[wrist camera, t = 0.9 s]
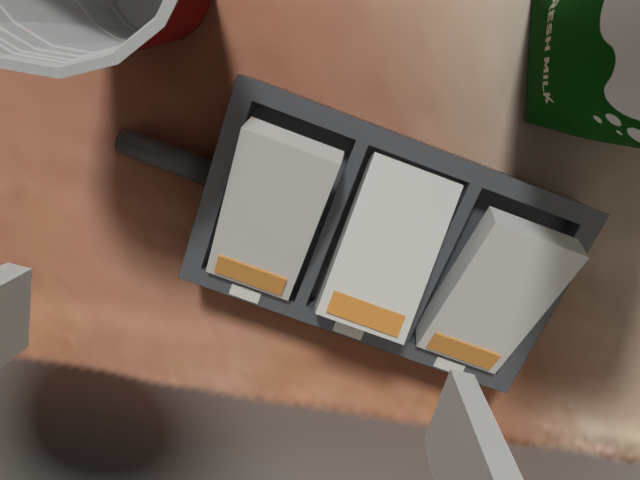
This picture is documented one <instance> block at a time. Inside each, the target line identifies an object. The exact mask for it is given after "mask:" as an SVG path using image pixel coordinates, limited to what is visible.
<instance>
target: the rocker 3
mask: <svg viewBox="0 0 640 480" xmlns="http://www.w3.org/2000/svg"><path fill="white" fill-rule="evenodd" d="M589 258H590V257H589V256H588V254H587V253H586V251H585V250H584V248H583V247H582V245H581V243H580V242H579V240H578V239H576V238H574V237H571V236H568V235H566V234H563V233H560V232H558V231H555V230H552V229H550V228H547V227H544V226H542V225H539V224H536V223H534V222H531V221H528V220H526V219H523V218H520V217H518V216H515V215H512V214H510V213H507V212H504V211H502V210H499V209H497V208H494V207H491V206H489V208H488V209H487V211H486V212H485V214H484V216H483V217H482V219H481V220H480V222H479V224H478V225H477V227H476V229H475V230H474V232H473V233H472V235H471V237H470V238H469V240H468V242H467V243H466V245H465V246H464V248H463V250H462V251H461V253H460V254H459V256H458V258H457V259H456V261H455V263H454V264H453V266H452V267H451V269H450V271H449V272H448V274H447V275H446V277H445V279H444V280H443V282H442V284H441V285H440V287H439V288H438V290H437V292H436V293H435V295H434V297H433V298H432V300H431V301H430V303H429V305H428V306H427V308H426V309H425V311H424V313H423V314H422V316H421V318H420V319H419V321H418V323H417V325H416V327H415V328H416V346H417V347H420V348H422V349H425V350H428V351H431V352H434V353H436V354H439V355H442V356H445V357H448V358H451V359H453V360H456V361H459V362H462V363H465V364H467V365H470V366H473V367H476V368H479V369H482V370H484V371H487V372H490V373H493V374H495V373H496V372H497V371H498V370H499V368H500V367H501V366H502V365H503V363H504V362H505V361H506V360H507V359H508V357H509V356H510V355H511V354H512V352H513V351H514V350H515V349H516V348H517V346H518V345H519V344H520V343H521V341H522V340H523V339H524V338H525V337H526V335H527V334H528V333H529V332H530V330H531V329H532V328H533V327H534V325H535V324H536V323H537V322H538V321H539V319H540V318H541V317H542V316H543V314H544V313H545V312H546V311H547V310H548V308H549V307H550V306H551V305H552V303H553V302H554V301H555V300H556V299H557V297H558V296H559V295H560V294H561V292H562V291H563V290H564V289H565V288H566V286H567V285H568V284H569V283H570V281H571V280H572V279H573V278H574V277H575V275H576V274H577V273H578V272H579V270H580V269H581V268H582V267H583V266H584V264H585V263H586V262H587V261H588V259H589Z"/></svg>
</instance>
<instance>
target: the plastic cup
mask: <svg viewBox="0 0 640 480" xmlns="http://www.w3.org/2000/svg"><path fill="white" fill-rule="evenodd" d="M209 4H210V0H0V69H6V70H12V71H17V72H23V73H29V74H35V75H40V76H46V77H52V78H57V79H61V78H65V77H69V76H73V75H77V74H82V73H86V72H90V71H94V70H98V69H102V68H106V67H110V66H114V65H118V64H119V63H121V62H122V61H123V60H125V59H126V58H127V57H128V56H130V55H131V54H132V53H133V52H134V51H136V50H139V49H145V48H149V47H153V46H157V45H160V44H165V43H169V42H172V41H176V40H180V39H184V38H185V37H186V36H187V35H188V34H189V33H191V32H192V31H193V30H194V29H195V28H197V27H198V26H199V25H200V23H201V21H202V19H203V17H204V15H205V13H206V11H207V9H208V7H209Z"/></svg>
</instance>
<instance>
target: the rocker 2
mask: <svg viewBox="0 0 640 480" xmlns="http://www.w3.org/2000/svg"><path fill="white" fill-rule="evenodd" d="M463 186H464V185H462V184H459V183H456V182H454V181H451V180H448V179H446V178H443V177H440V176H438V175H435V174H432V173H430V172H427V171H424V170H422V169H419V168H416V167H414V166H411V165H409V164H406V163H403V162H401V161H398V160H395V159H393V158H390V157H387V156H385V155H382V154H379V153H377V152H374V153H373V154H372V155H371V156H370V157H369V160H368V163H367V165H366V168H365V171H364V174H363V176H362V179H361V182H360V185H359V187H358V190H357V193H356V195H355V198H354V201H353V204H352V206H351V209H350V212H349V214H348V217H347V220H346V223H345V225H344V228H343V231H342V234H341V236H340V239H339V242H338V244H337V247H336V250H335V253H334V255H333V258H332V261H331V263H330V266H329V269H328V272H327V274H326V277H325V280H324V283H323V285H322V288H321V291H320V293H319V296H318V299H317V302H316V304H315V314H317V315H320V316H323V317H326V318H329V319H331V320H334V321H337V322H340V323H343V324H346V325H348V326H351V327H354V328H357V329H360V330H362V331H365V332H368V333H371V334H374V335H377V336H379V337H382V338H385V339H388V340H391V341H393V342H396V343H399V344H402V345H404V343H405V341H406V338H407V335H408V333H409V330H410V327H411V325H412V322H413V319H414V317H415V314H416V311H417V309H418V306H419V303H420V301H421V298H422V295H423V293H424V290H425V287H426V285H427V282H428V279H429V277H430V274H431V271H432V269H433V266H434V263H435V261H436V258H437V255H438V253H439V250H440V247H441V245H442V242H443V239H444V237H445V234H446V231H447V229H448V226H449V224H450V221H451V218H452V216H453V213H454V210H455V208H456V205H457V202H458V200H459V197H460V194H461V192H462V189H463Z"/></svg>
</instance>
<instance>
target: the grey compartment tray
mask: <svg viewBox="0 0 640 480" xmlns="http://www.w3.org/2000/svg"><path fill="white" fill-rule="evenodd" d="M251 116H252V117H254V118H257V119H260V120H262V121H265V122H267V123H270V124H273V125H275V126H278V127H281V128H283V129H286V130H289V131H291V132H294V133H297V134H299V135H302V136H305V137H307V138H310V139H313V140H315V141H318V142H321V143H323V144H326V145H329V146H331V147H334V148H337V149H339V150H342V151H345V152H344V155H343V159H342V163H341V166H340V169H339V171H338V174H337V176H336V179H335V181H334V184H333V187H332V189H331V192H330V194H329V197H328V199H327V202H326V205H325V207H324V210H323V212H322V215H321V217H320V220H319V223H318V225H317V228H316V230H315V233H314V235H313V238H312V241H311V243H310V246H309V248H308V251H307V253H306V256H305V259H304V261H303V264H302V266H301V269H300V271H299V274H298V277H297V279H296V282H295V284H294V287H293V289H292V292H291V295H290V297H289V300H288V301H287V300H284V299H281V298H279V297H276V296H273V295H270V294H267V293H265V292H262V291H259V290H256V289H253V288H250V287H248V286H245V285H242V284H239V283H236V282H234V281H231V280H228V279H225V278H222V277H219V276H217V275H214V274H211V273H208V272H206V268H207V264H208V260H209V256H210V252H211V248H212V244H213V240H214V236H215V232H216V228H217V224H218V219H219V215H220V211H221V207H222V203H223V199H224V195H225V191H226V187H227V183H228V179H229V175H230V171H231V167H232V163H233V158H234V154H235V150H236V146H237V142H238V138H239V134H240V130H241V127H242V126H243V125H244V124H245V123H246V122H247V121H248V119H249V118H250V117H251ZM115 151H116V152H117V153H118V154H121V155H124V156H127V157H129V158H132V159H135V160H138V161H140V162H143V163H146V164H149V165H151V166H154V167H157V168H160V169H162V170H165V171H168V172H171V173H173V174H176V175H179V176H181V177H184V178H187V179H190V180H192V181H195V182H198V183H201V184H203V185H205V187H204V191H203V194H202V198H201V201H200V204H199V208H198V211H197V215H196V218H195V222H194V225H193V229H192V232H191V236H190V239H189V243H188V246H187V249H186V253H185V256H184V260H183V263H182V267H181V270H180V274H179V277H178V278H180V279H183V280H186V281H189V282H192V283H195V284H197V285H200V286H203V287H206V288H209V289H212V290H214V291H217V292H220V293H223V294H226V295H229V296H231V297H234V298H237V299H240V300H243V301H246V302H248V303H251V304H254V305H257V306H260V307H263V308H265V309H268V310H271V311H274V312H277V313H280V314H282V315H285V316H288V317H291V318H294V319H297V320H299V321H302V322H305V323H308V324H311V325H314V326H316V327H319V328H322V329H325V330H328V331H331V332H333V333H336V334H339V335H342V336H345V337H348V338H350V339H353V340H356V341H359V342H362V343H365V344H367V345H370V346H373V347H376V348H379V349H382V350H384V351H387V352H390V353H393V354H396V355H399V356H401V357H404V358H407V359H410V360H413V361H416V362H418V363H421V364H424V365H427V366H430V367H433V368H435V369H438V370H441V371H444V372H447V373H449V371H450V369H453V370H458V371H462V372H466V373H470V374H474V375H475V377H476V379H477V381H478V383H479V384H481V385H484V386H486V387H489V388H492V389H495V390H498V391H501V392H503V393H507V391H508V389H509V388H510V386H511V384H512V382H513V381H514V379H515V377H516V375H517V374H518V372H519V370H520V368H521V367H522V365H523V363H524V362H525V360H526V358H527V356H528V355H529V353H530V351H531V349H532V348H533V346H534V344H535V342H536V341H537V339H538V337H539V336H540V334H541V332H542V330H543V329H544V327H545V325H546V323H547V322H548V320H549V318H550V317H551V315H552V313H553V311H554V310H555V308H556V306H557V304H558V303H559V301H560V299H561V297H562V296H563V294H564V292H565V291H566V289H567V287H568V285H569V284H570V283H569V284H568V285H567V286H566V288H565V289H564V290H563V291H562V292H561V294H560V295H559V296H558V297H557V299H556V300H555V301H554V302H553V303H552V305H551V306H550V307H549V308H548V310H547V311H546V312H545V313H544V314H543V316H542V317H541V318H540V319H539V321H538V322H537V323H536V324H535V325H534V327H533V328H532V329H531V330H530V332H529V333H528V334H527V335H526V337H525V338H524V339H523V340H522V341H521V343H520V344H519V345H518V346H517V348H516V349H515V350H514V351H513V352H512V354H511V355H510V356H509V357H508V359H507V360H506V361H505V362H504V363H503V365H502V366H501V367H500V368H499V370H498V371H497V372H496V373H495V374H493V373H490V372H487V371H484V370H482V369H479V368H476V367H473V366H470V365H467V364H465V363H462V362H459V361H456V360H453V359H451V358H448V357H445V356H442V355H439V354H436V353H434V352H431V351H428V350H425V349H422V348H420V347H417V346H416V328H415V327H416V325H417V323H418V321H419V319H420V318H421V316H422V314H423V313H424V311H425V309H426V308H427V306H428V305H429V303H430V301H431V300H432V298H433V297H434V295H435V293H436V292H437V290H438V288H439V287H440V285H441V284H442V282H443V280H444V279H445V277H446V275H447V274H448V272H449V271H450V269H451V267H452V266H453V264H454V263H455V261H456V259H457V258H458V256H459V254H460V253H461V251H462V250H463V248H464V246H465V245H466V243H467V242H468V240H469V238H470V237H471V235H472V233H473V232H474V230H475V229H476V227H477V225H478V224H479V222H480V220H481V219H482V217H483V216H484V214H485V212H486V211H487V209H488V208H489V206H491V207H494V208H497V209H499V210H502V211H504V212H507V213H510V214H512V215H515V216H518V217H520V218H523V219H526V220H528V221H531V222H534V223H536V224H539V225H542V226H544V227H547V228H550V229H552V230H555V231H558V232H560V233H563V234H566V235H568V236H571V237H574V238H576V239H578V240H579V242H580V243H581V245H582V247H583V248H584V250H585V251H586V253H587V252H588V251H589V249H590V247H591V246H592V244H593V242H594V240H595V239H596V237H597V235H598V233H599V232H600V230H601V228H602V226H603V225H604V223H605V221H606V220H607V218H608V216H609V215H608V214H605V213H603V212H601V211H599V210H596V209H594V208H592V207H590V206H587V205H585V204H583V203H581V202H578V201H576V200H573V199H571V198H568V197H565V196H563V195H560V194H557V193H555V192H552V191H550V190H547V189H544V188H542V187H539V186H536V185H534V184H531V183H528V182H526V181H523V180H521V179H518V178H515V177H513V176H510V175H507V174H505V173H502V172H500V171H497V170H494V169H492V168H489V167H486V166H484V165H481V164H479V163H476V162H473V161H471V160H468V159H465V158H463V157H460V156H457V155H455V154H452V153H450V152H447V151H444V150H442V149H439V148H436V147H434V146H431V145H429V144H426V143H423V142H421V141H418V140H415V139H413V138H410V137H408V136H405V135H402V134H400V133H397V132H394V131H392V130H389V129H386V128H384V127H381V126H379V125H376V124H373V123H371V122H368V121H365V120H363V119H360V118H358V117H355V116H352V115H350V114H347V113H344V112H342V111H339V110H336V109H334V108H331V107H329V106H326V105H323V104H321V103H318V102H315V101H313V100H310V99H308V98H305V97H302V96H300V95H297V94H294V93H292V92H289V91H287V90H284V89H281V88H279V87H276V86H273V85H271V84H268V83H265V82H263V81H260V80H258V79H255V78H252V77H249V76H245V75H240V74H237V76H236V80H235V83H234V87H233V90H232V94H231V97H230V101H229V104H228V108H227V111H226V114H225V118H224V121H223V125H222V128H221V132H220V135H219V139H218V142H217V146H216V149H215V153H214V156H213V159H210V158H207V157H205V156H202V155H199V154H196V153H194V152H191V151H188V150H186V149H183V148H180V147H177V146H175V145H172V144H169V143H167V142H164V141H161V140H158V139H156V138H153V137H150V136H148V135H145V134H142V133H139V132H137V131H134V130H131V129H129V128H126V127H125V128H123V129H121V131H120V132H119V134H118V136H117V138H116V141H115ZM374 152H377V153H379V154H382V155H385V156H387V157H390V158H393V159H395V160H398V161H401V162H403V163H406V164H409V165H411V166H414V167H416V168H419V169H422V170H424V171H427V172H430V173H432V174H435V175H438V176H440V177H443V178H446V179H448V180H451V181H454V182H456V183H459V184H462V185H464V186H463V189H462V192H461V194H460V197H459V200H458V202H457V205H456V208H455V210H454V213H453V216H452V218H451V221H450V224H449V226H448V229H447V231H446V234H445V237H444V239H443V242H442V245H441V247H440V250H439V253H438V255H437V258H436V261H435V263H434V266H433V269H432V271H431V274H430V277H429V279H428V282H427V285H426V287H425V290H424V293H423V295H422V298H421V301H420V303H419V306H418V309H417V311H416V314H415V317H414V319H413V322H412V325H411V327H410V330H409V333H408V335H407V338H406V341H405V343H404V345H402V344H399V343H396V342H393V341H391V340H388V339H385V338H382V337H379V336H377V335H374V334H371V333H368V332H365V331H362V330H360V329H357V328H354V327H351V326H348V325H346V324H343V323H340V322H337V321H334V320H331V319H329V318H326V317H323V316H320V315H317V314H315V304H316V302H317V299H318V296H319V293H320V291H321V288H322V285H323V283H324V280H325V277H326V274H327V272H328V269H329V266H330V263H331V261H332V258H333V255H334V253H335V250H336V247H337V244H338V242H339V239H340V236H341V234H342V231H343V228H344V225H345V223H346V220H347V217H348V214H349V212H350V209H351V206H352V204H353V201H354V198H355V195H356V193H357V190H358V187H359V185H360V182H361V179H362V176H363V174H364V171H365V168H366V165H367V163H368V160H369V157H370V156H371V155H372V154H373V153H374ZM570 282H571V281H570Z"/></svg>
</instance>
